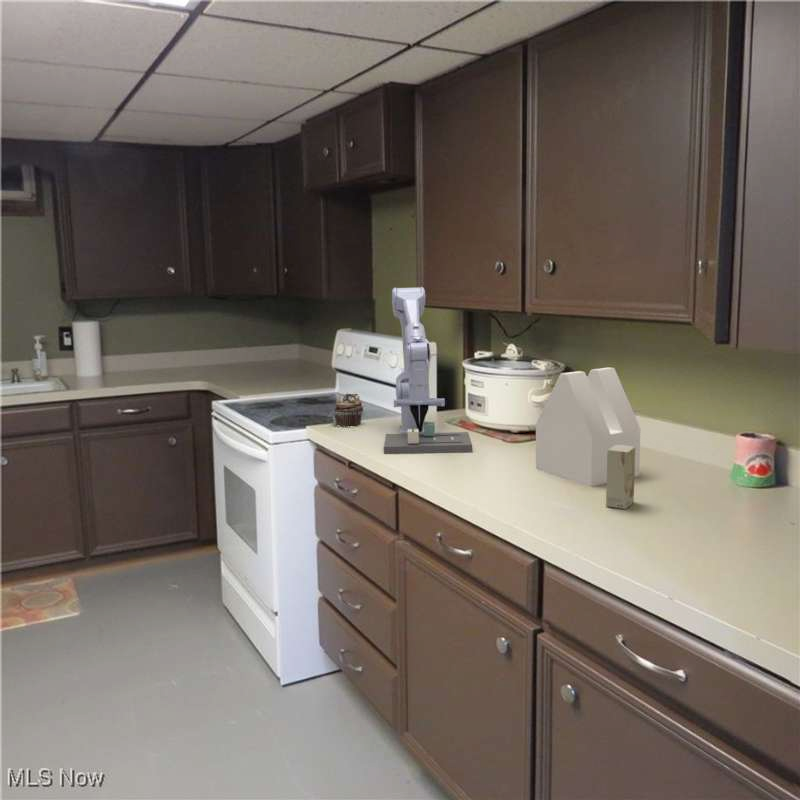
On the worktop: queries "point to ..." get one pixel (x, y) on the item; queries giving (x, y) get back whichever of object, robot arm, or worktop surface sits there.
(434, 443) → the console
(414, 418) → the robot arm
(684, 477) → the worktop surface
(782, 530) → the worktop surface
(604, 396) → the grey house shaped holder
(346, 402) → the cupcake
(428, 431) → the teal fader
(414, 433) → the ivory fader
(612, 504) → the skincare box
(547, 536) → the worktop surface
